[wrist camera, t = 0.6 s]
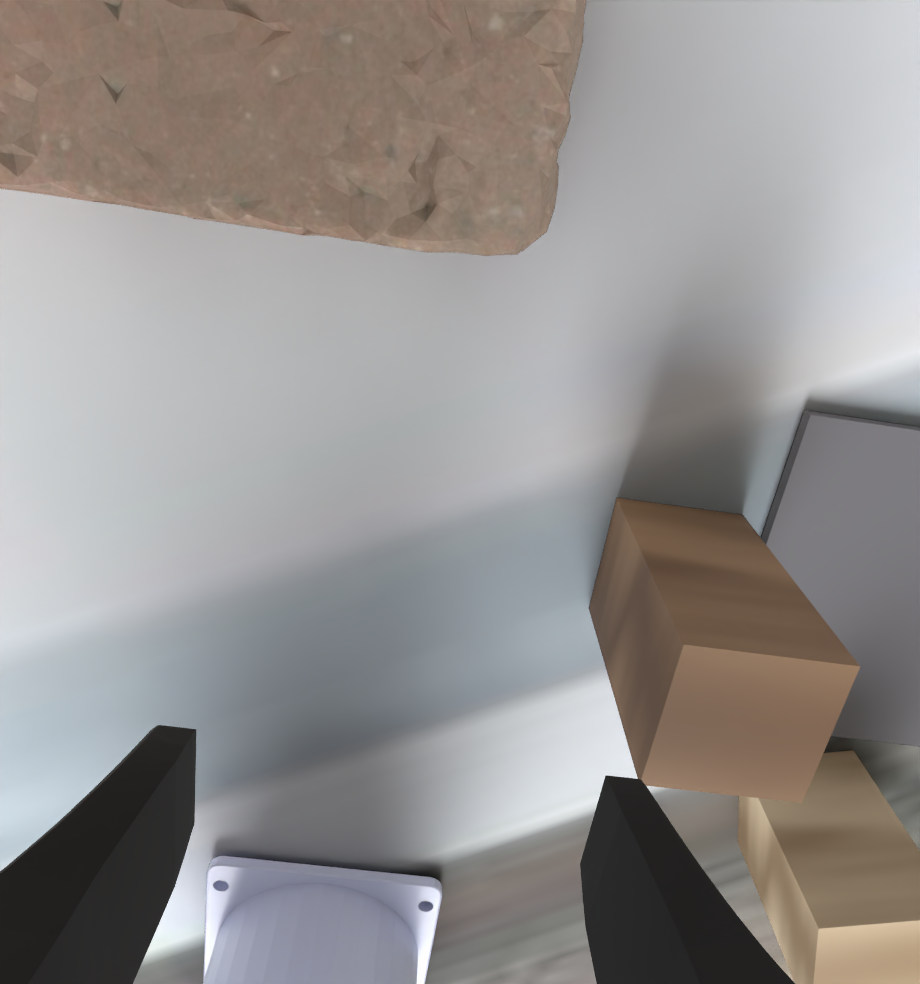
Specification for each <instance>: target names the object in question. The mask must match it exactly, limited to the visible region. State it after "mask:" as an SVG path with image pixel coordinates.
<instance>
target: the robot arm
mask: <svg viewBox="0 0 920 984" xmlns="http://www.w3.org/2000/svg"><path fill="white" fill-rule="evenodd" d="M195 764H196V729H188V728H180V727H171V726H162V725H158V726H156V727H155V728H153V729H152V730H151V731H150V732H149V733H148V734H147V735H146V736H145V737H144V738H143V739H142V740H141V741H140V742H139V744H138V745H137V746H136V747H135V748H134V749H133V750H132V751H131V752H130V753H129V754H128V755H127V756H126V757H125V758H124V759H123V760H122V761H121V762H120V763H119V764H118V765H117V766H116V767H115V768H114V769H113V770H112V771H111V772H110V773H109V774H108V775H107V776H106V777H105V778H104V779H103V780H102V781H101V782H100V783H99V784H98V785H97V786H96V787H95V788H94V789H93V790H92V791H91V792H90V793H89V794H88V795H87V796H86V797H85V798H83V799H82V800H81V801H80V802H79V803H78V804H77V805H76V806H75V807H74V808H73V809H72V810H71V811H70V812H69V813H68V814H66V815H65V816H64V817H63V818H62V819H61V820H60V821H59V822H58V823H57V824H56V825H54V826H53V827H52V828H51V829H50V830H49V831H48V832H46V833H45V834H44V835H43V836H42V837H41V838H39V839H38V840H37V841H36V842H35V843H34V844H32V845H31V846H30V847H29V848H28V849H27V850H25V851H24V852H23V853H22V854H21V855H20V856H18V857H17V858H16V859H15V860H14V861H13V862H11V863H10V864H9V865H8V866H7V867H5V868H4V869H3V870H2V871H0V984H133V982H134V979H135V977H136V975H137V972H138V970H139V968H140V966H141V963H142V961H143V959H144V956H145V954H146V952H147V950H148V947H149V945H150V943H151V940H152V938H153V936H154V933H155V931H156V929H157V926H158V924H159V922H160V920H161V917H162V915H163V913H164V910H165V908H166V906H167V903H168V901H169V899H170V896H171V894H172V891H173V889H174V887H175V884H176V881H177V878H178V874H179V871H180V868H181V865H182V862H183V859H184V856H185V852H186V849H187V846H188V842H189V839H190V836H191V832H192V829H193V826H194V813H195ZM580 867H581V880H582V893H583V904H584V914H585V925H586V931H587V936H588V941H589V947H590V952H591V957H592V962H593V967H594V972H595V977H596V982H597V984H795V983H794V982H793V981H792V980H791V979H790V978H789V976H788V975H787V974H786V973H785V972H784V971H783V970H782V969H781V968H780V967H779V966H778V964H777V963H776V962H775V961H774V960H773V959H772V957H771V956H770V955H769V954H768V953H767V952H766V951H765V949H764V948H763V947H762V946H761V945H760V943H759V942H758V941H757V940H756V938H755V937H754V936H753V935H752V933H751V932H750V931H749V930H748V928H747V927H746V926H745V925H744V924H743V922H742V921H741V920H740V919H739V917H738V916H737V915H736V913H735V912H734V911H733V909H732V908H731V907H730V906H729V904H728V903H727V902H726V900H725V899H724V898H723V896H722V895H721V894H720V892H719V891H718V889H717V888H716V887H715V885H714V884H713V883H712V881H711V880H710V879H709V877H708V876H707V874H706V873H705V872H704V870H703V869H702V868H701V866H700V865H699V863H698V862H697V861H696V859H695V858H694V856H693V855H692V853H691V852H690V851H689V849H688V848H687V846H686V845H685V843H684V842H683V840H682V839H681V837H680V836H679V834H678V833H677V832H676V830H675V829H674V827H673V826H672V824H671V823H670V821H669V820H668V818H667V817H666V815H665V814H664V812H663V811H662V809H661V808H660V806H659V805H658V803H657V802H656V800H655V799H654V797H653V796H652V794H651V793H650V791H649V790H648V788H647V787H646V785H645V784H644V783H643V781H642V780H641V779H633V778H624V777H615V776H605V780H604V783H603V787H602V790H601V794H600V797H599V801H598V804H597V808H596V811H595V815H594V818H593V821H592V825H591V828H590V832H589V835H588V839H587V842H586V846H585V849H584V853H583V856H582V859H581V863H580ZM220 880H222V881H220ZM441 899H442V884H441V883H440V881H438V880H437V879H435V878H432V877H425V876H415V875H405V874H396V873H386V872H376V871H366V870H357V869H347V868H337V867H328V866H318V865H308V864H298V863H289V862H279V861H269V860H260V859H250V858H240V857H230V856H218V857H216V858H214V859H212V860H211V862H210V865H209V867H208V870H207V883H206V917H205V950H204V981H203V984H425V980H426V975H427V970H428V965H429V960H430V955H431V949H432V944H433V939H434V934H435V929H436V924H437V919H438V914H439V909H440V904H441ZM424 901H428V902H424Z"/></svg>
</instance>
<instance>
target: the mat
mask: <svg viewBox="0 0 920 984" xmlns="http://www.w3.org/2000/svg"><path fill="white" fill-rule="evenodd" d="M761 539H762V540H763V542H764V543H765V544H766V546H767V547H768V548H769V549H770V551H771V552H772V553H773V555H774V556H775V557H776V558H777V560H778V561H779V562H780V564H781V565H782V566H783V567H784V569H785V570H786V571H787V573H788V574H789V575H790V576H791V578H792V579H793V580H794V582H795V583H796V584H797V585H798V587H799V588H800V589H801V591H802V592H803V593H804V595H805V596H806V597H807V598H808V600H809V601H810V602H811V604H812V605H813V606H814V607H815V609H816V610H817V611H818V613H819V614H820V615H821V616H822V618H823V619H824V620H825V622H826V623H827V624H828V625H829V627H830V628H831V629H832V631H833V632H834V633H835V634H836V636H837V637H838V638H839V640H840V641H841V642H842V644H843V645H844V646H845V647H846V649H847V650H848V651H849V653H850V654H851V655H852V656H853V658H854V659H855V660H856V662H857V663H858V664H859V665H860V669H859V671H858V673H857V676H856V678H855V680H854V683H853V685H852V687H851V690H850V692H849V694H848V697H847V699H846V701H845V704H844V706H843V708H842V711H841V713H840V715H839V718H838V720H837V722H836V725H835V727H834V729H833V732H832V734H831V736H834V737H842V738H851V739H859V740H868V741H876V742H885V743H893V744H901V745H910V746H918V747H920V427H916V426H909V425H902V424H896V423H889V422H882V421H875V420H868V419H861V418H854V417H848V416H841V415H834V414H827V413H820V412H813V411H807V410H804V413H803V416H802V419H801V422H800V425H799V428H798V430H797V433H796V436H795V439H794V442H793V445H792V448H791V451H790V454H789V457H788V460H787V463H786V466H785V469H784V472H783V475H782V478H781V481H780V484H779V486H778V489H777V492H776V495H775V498H774V501H773V504H772V507H771V510H770V513H769V516H768V519H767V522H766V525H765V528H764V531H763V534H762V537H761Z"/></svg>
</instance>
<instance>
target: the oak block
mask: <svg viewBox="0 0 920 984" xmlns="http://www.w3.org/2000/svg"><path fill="white" fill-rule="evenodd" d="M738 844H739V847H740V849H741V852H742V854H743V857H744V859H745V862H746V864H747V866H748V869H749V871H750V874H751V876H752V879H753V881H754V884H755V886H756V889H757V891H758V894H759V896H760V899H761V901H762V903H763V906H764V908H765V911H766V913H767V916H768V918H769V921H770V923H771V926H772V928H773V931H774V933H775V935H776V938H777V940H778V943H779V945H780V948H781V950H782V953H783V955H784V958H785V960H786V963H787V965H788V968H789V970H790V972H791V975H792V977H793V980H794V982H795V984H920V851H919V849H918V848H917V846H916V845H915V843H914V842H913V840H912V839H911V837H910V836H909V834H908V833H907V831H906V829H905V828H904V826H903V825H902V823H901V822H900V820H899V819H898V817H897V816H896V814H895V813H894V811H893V810H892V808H891V807H890V805H889V804H888V802H887V801H886V799H885V798H884V796H883V794H882V793H881V791H880V790H879V788H878V787H877V785H876V784H875V782H874V781H873V779H872V778H871V776H870V775H869V773H868V772H867V770H866V769H865V767H864V766H863V764H862V763H861V761H860V760H859V758H858V756H857V755H856V753H855V752H854V750H851V751H840V752H829V753H823V755H822V758H821V760H820V762H819V765H818V767H817V769H816V772H815V774H814V776H813V779H812V781H811V783H810V786H809V788H808V790H807V793H806V795H805V797H804V800H803V802H802V803H798V802H789V801H780V800H771V799H762V798H753V797H745V796H739V818H738Z"/></svg>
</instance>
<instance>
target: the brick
mask: <svg viewBox="0 0 920 984" xmlns="http://www.w3.org/2000/svg"><path fill="white" fill-rule="evenodd" d="M585 6H586V0H0V188H1V189H9V190H17V191H25V192H32V193H40V194H47V195H54V196H61V197H67V198H74V199H80V200H87V201H94V202H102V203H110V204H118V205H125V206H130V207H136V208H141V209H146V210H153V211H159V212H165V213H171V214H177V215H182V216H187V217H191V218H194V219H201V220H211V221H217V222H223V223H230V224H236V225H242V226H249V227H256V228H263V229H269V230H276V231H283V232H288V233H293V234H298V235H321V236H330V237H336V238H342V239H347V240H353V241H363V242H369V243H374V244H379V245H385V246H391V247H398V248H404V249H411V250H417V251H424V252H459V253H467V254H476V255H484V256H490V255H506V254H518V253H519V252H520V251H523V250H524V249H526V248H527V247H528V246H529V245H531V244H532V243H533V242H534V241H536V240H537V239H538V238H539V237H541V236H542V235H543V234H544V233H546V232H547V229H548V226H549V223H550V220H551V217H552V214H553V211H554V208H555V201H556V194H557V187H558V163H557V156H558V150H559V148H560V145H561V143H562V141H563V139H564V137H565V134H566V130H567V127H568V124H569V121H570V105H569V95H570V91H571V88H572V84H573V81H574V77H575V74H576V69H577V65H578V60H579V56H580V51H581V47H582V42H583V26H584V12H585Z"/></svg>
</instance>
